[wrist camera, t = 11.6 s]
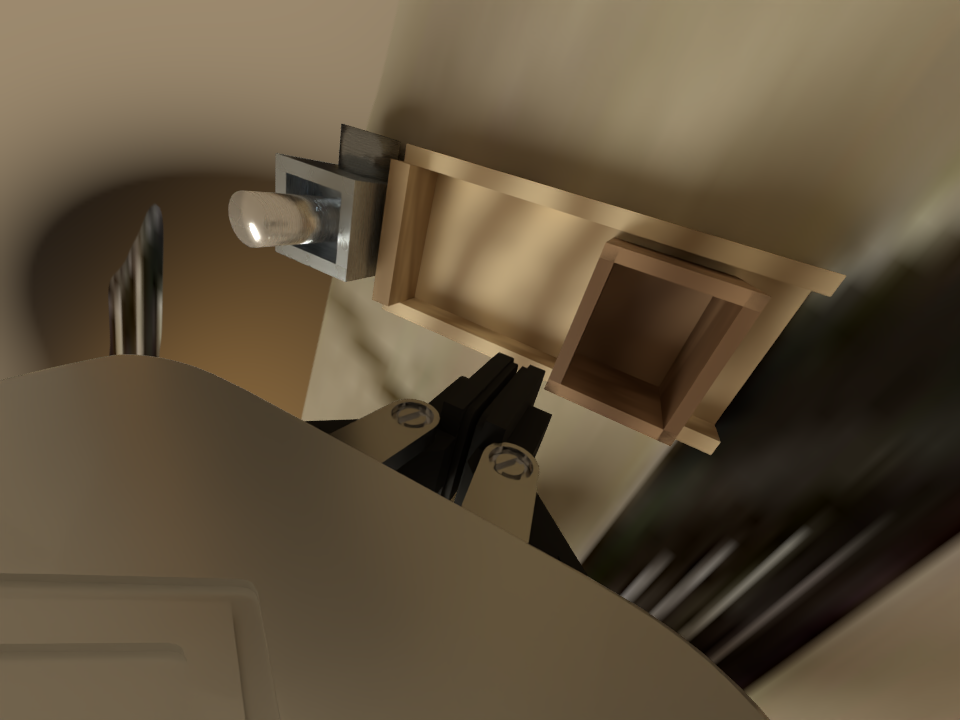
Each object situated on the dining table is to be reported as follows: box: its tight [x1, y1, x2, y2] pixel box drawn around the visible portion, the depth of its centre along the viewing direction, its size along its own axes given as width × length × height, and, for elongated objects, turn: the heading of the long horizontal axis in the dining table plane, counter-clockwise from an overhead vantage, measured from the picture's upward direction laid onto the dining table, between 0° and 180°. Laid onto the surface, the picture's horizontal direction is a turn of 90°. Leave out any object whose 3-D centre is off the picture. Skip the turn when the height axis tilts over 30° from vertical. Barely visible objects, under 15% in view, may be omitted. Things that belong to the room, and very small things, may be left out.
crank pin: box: [229, 191, 341, 247], centre depth 25 cm, size 3×3×8 cm
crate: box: [544, 237, 771, 446], centre depth 23 cm, size 8×9×7 cm
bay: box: [372, 144, 846, 455], centre depth 26 cm, size 28×13×5 cm, turn 73°
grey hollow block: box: [276, 124, 400, 282], centre depth 29 cm, size 7×10×8 cm
